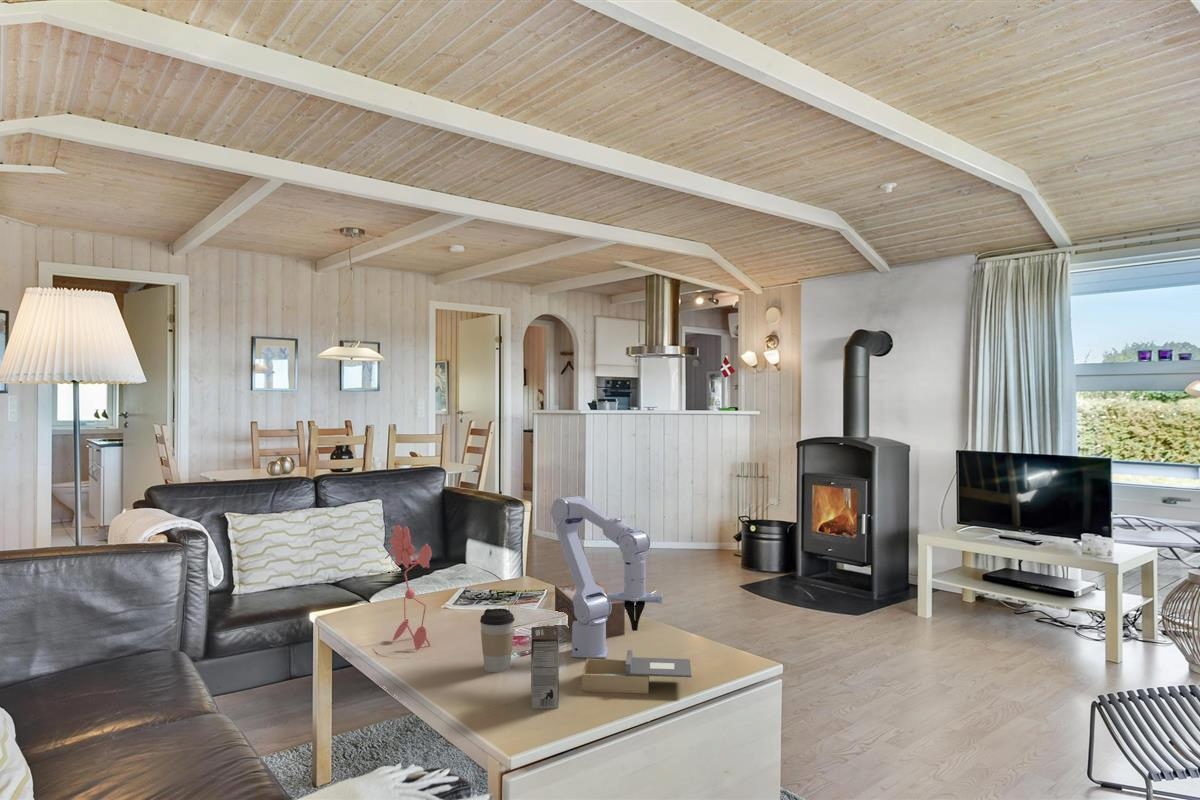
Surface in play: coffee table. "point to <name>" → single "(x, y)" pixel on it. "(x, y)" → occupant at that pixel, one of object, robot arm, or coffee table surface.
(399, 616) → the coffee table surface
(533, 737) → the coffee table surface
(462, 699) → the coffee table surface
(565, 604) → the tissue box cover
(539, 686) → the coffee box
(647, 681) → the mailer box
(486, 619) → the coffee cup
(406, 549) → the figurine
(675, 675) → the lid
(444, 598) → the coffee table surface
